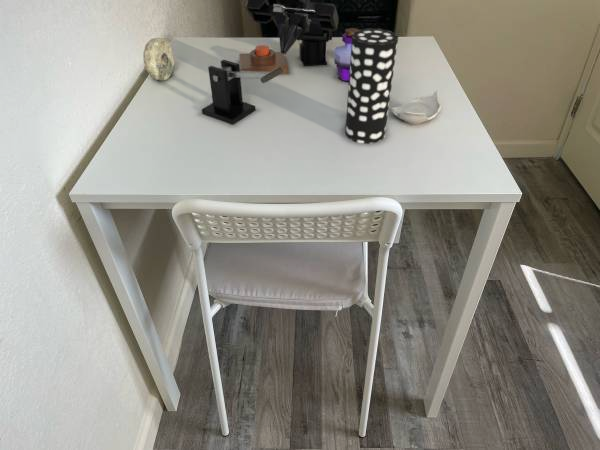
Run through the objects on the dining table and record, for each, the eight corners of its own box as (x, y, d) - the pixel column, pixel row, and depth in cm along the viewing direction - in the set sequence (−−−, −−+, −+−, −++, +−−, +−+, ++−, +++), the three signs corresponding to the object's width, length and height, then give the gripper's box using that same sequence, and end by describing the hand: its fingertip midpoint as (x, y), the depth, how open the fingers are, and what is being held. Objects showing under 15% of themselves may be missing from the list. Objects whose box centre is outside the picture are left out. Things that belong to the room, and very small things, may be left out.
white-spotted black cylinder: (388, 127, 98) (401, 31, 85) (380, 146, 92) (393, 47, 79) (350, 121, 100) (358, 26, 87) (340, 139, 94) (347, 41, 81)
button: (268, 51, 122) (268, 44, 120) (270, 56, 119) (269, 49, 118) (255, 52, 121) (254, 45, 120) (256, 57, 118) (255, 50, 117)
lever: (284, 76, 93) (281, 64, 91) (266, 86, 89) (263, 74, 87) (230, 74, 101) (227, 63, 99) (212, 84, 97) (208, 72, 96)
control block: (283, 59, 127) (282, 44, 124) (288, 73, 119) (287, 58, 117) (240, 61, 125) (238, 47, 123) (242, 76, 118) (240, 61, 115)
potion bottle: (352, 88, 113) (356, 38, 105) (324, 78, 117) (326, 30, 109) (371, 76, 118) (376, 28, 110) (344, 68, 122) (347, 21, 114)
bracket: (255, 110, 104) (252, 63, 97) (232, 124, 99) (227, 77, 92) (225, 100, 108) (220, 55, 101) (202, 114, 103) (194, 67, 96)
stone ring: (158, 87, 113) (149, 47, 107) (146, 85, 114) (136, 45, 108) (180, 71, 120) (172, 32, 114) (168, 70, 121) (160, 31, 115)
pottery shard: (429, 107, 105) (434, 87, 101) (449, 132, 97) (454, 110, 93) (386, 110, 104) (389, 90, 100) (402, 136, 95) (406, 114, 92)
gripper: (245, -49, 89) (226, 28, 88) (338, -43, 84) (319, 38, 84) (262, -14, 99) (246, 54, 99) (345, -7, 95) (329, 64, 94)
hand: (283, 52), depth 94 cm, fingers closed
